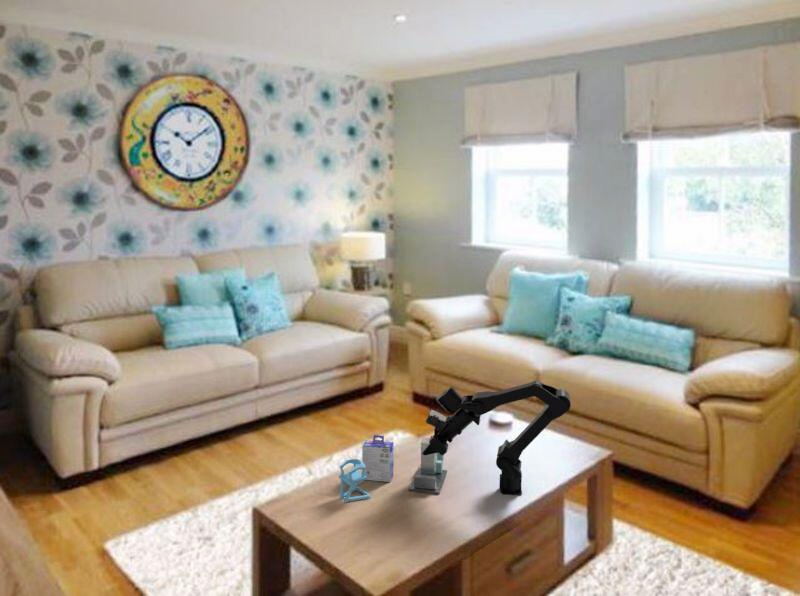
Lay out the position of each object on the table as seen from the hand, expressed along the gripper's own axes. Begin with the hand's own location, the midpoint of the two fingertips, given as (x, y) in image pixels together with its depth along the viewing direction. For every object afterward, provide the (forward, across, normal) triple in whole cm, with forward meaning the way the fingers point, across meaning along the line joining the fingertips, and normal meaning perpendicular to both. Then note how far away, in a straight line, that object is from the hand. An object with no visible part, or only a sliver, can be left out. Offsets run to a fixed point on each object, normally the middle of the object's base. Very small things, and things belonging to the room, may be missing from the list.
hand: (424, 451), depth 215 cm
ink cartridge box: (+19, +1, -4) cm, 19 cm away
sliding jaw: (+6, -11, +8) cm, 14 cm away
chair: (+22, +15, -7) cm, 28 cm away
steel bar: (+4, 0, +6) cm, 7 cm away
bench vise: (+7, 0, +8) cm, 11 cm away
